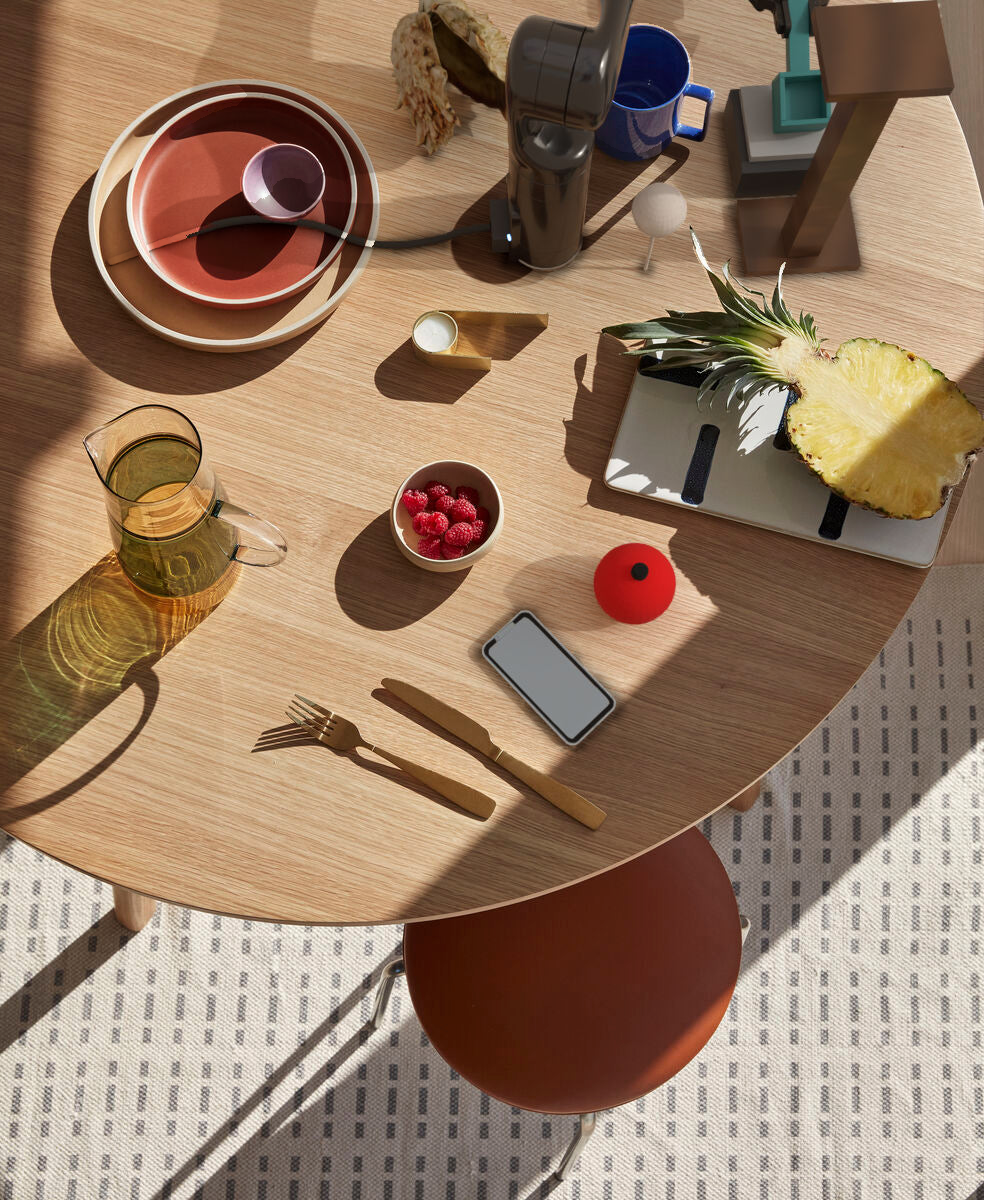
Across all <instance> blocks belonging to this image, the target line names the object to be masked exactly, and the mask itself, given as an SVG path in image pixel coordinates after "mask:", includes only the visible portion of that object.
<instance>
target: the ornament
mask: <svg viewBox="0 0 984 1200" xmlns="http://www.w3.org/2000/svg"><path fill="white" fill-rule="evenodd" d="M592 581H593V593H594V597H595V599H596V602H597V604H598V606H599V607H600V608H601V609H602V611H603V612H604V613H605V614H606V615H607V616H608V617H610V618H611V619H613V620H615V621H616V622H619V623H621V624H625V625H630V626H636V625H637V626H638V625H644V624H648V623H650V622H653V621H655V620H656V619H658V618H659V617H661V616H663V614H665V612H666V611H667V610H668V609H669V607H670V605H672V602H673V600H674V597H675V595H676V590H677V589H676V588H677V578H676V574H675V569H674V567H673V565H672V563H671V562H670V560H669V558H667V556H666V555H665V554H664V553H663V552H661V550H659V549H658V548H656V547H654V546H652V545H650V544H647V543H643V542H628V543H622V544H620V545H617V546H615V547H613V548H611V550H609V551H607V552H606V553H605V555H604V556H603V557H602V558H601V559H600V561H599V562H598V564H597V566H596V568H595V571H594V575H593V580H592Z"/></svg>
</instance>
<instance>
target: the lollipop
mask: <svg viewBox="0 0 984 1200" xmlns="http://www.w3.org/2000/svg"><path fill="white" fill-rule="evenodd" d="M687 213H688V205H687V200H686V198H685V197H684V196H683V194H682V193H681V191H680V190H679V189H678V188H677V187H676V186H674V185H672V184H670V183H667V182H653V183H651V184H648V185H647V186H645V187H644V188H642V189H641V190H640V191H639V192H637V194H636V195H635V197H634V199H633V201H632V203H631V215H632V218H633V221H634V224H635V225H636V227H637V229H638V230H639V231H640V232H641V233H642V234H644V235H646V236H647V237H650V239H649V244H648V248H647V252H646V256H645V261H644V264H643V271H647V270H648V268H649V264H650V260H651V255H652V251H653V247H654V243H655V239H662V238H666V237H669V236H671V235H673V234H675V232H677V230H679V228H680V227H681V226H682V225H683V224H684V222H685V221H686V218H687Z"/></svg>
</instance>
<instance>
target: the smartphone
mask: <svg viewBox="0 0 984 1200" xmlns="http://www.w3.org/2000/svg"><path fill="white" fill-rule="evenodd" d="M481 655H482V657H483V658H484V660H485V661H486V662H488V663H489V664H490V666H492V668H493V669H494V670H495V671H496V672H497V673H498V674H499V675H500V676H501V677H502V679H504V680H505V682H507V684H508V685H509V686H510V687H511V688H512V689H513V690H514V691H515V692H516V693H517V694H518V695H519V696H520V697H521V698H522V699H523V700H524V702H526V703H527V704H528V706H529V707H530V708H531V709H532V710H533V711H534V712H535V713H536V714H537V715H538V716H539V718H541V719H542V720H543V721H544V722H545V724H546V725H548V727H549V728H550V729H551V730H552V731H553V732H554V733H555V734H556V735H557V736H558V737H559V738H560V739H561V741H562V742H564V743H565V745H568V746H571V747H572V746H573V747H574V746H577V745H578V744H580V743H581V742H582V741H583V740H584V739H585V738H586V737H587V736H588V735H589V734H590V733H591V732H593V730H594V729H595V728H596V727H597V726H598V725H600V724H601V723H602V721H604V720H605V719H606V718H607V717H608V716H609V715H610V714H611V713H612V712H613V711H614V710H615V709H616V705H617V702H616V699H615V697H614V696H613V695H612V694H611V693H610V692H609V691H608V690H607V689H606V688H605V686H604V685H602V684H601V682H599V680H598V679H596V677H595V676H593V674H592V673H591V672H590V671H589V670H588V669H587V668H586V667H585V666H584V664H582V663H581V662H580V661H579V660H578V659H577V658H576V657H575V656H574V655H573V654H572V653H571V652H570V651H569V650H568V649H567V647H565V645H564V644H563V643H562V642H561V641H560V640H559V639H558V638H557V637H556V636H555V635H554V634H553V633H552V631H550V629H548V628H547V627H546V626H545V625H544V624H543V622H541V620H539V619H538V618H537V617H536V616H535V614H534V613H533V612H532V611H529V610H525V609H524V610H523V609H522V610H521V611H519V612H517V614H515V615H514V616H513V617H512V618H511V619H510V620H509V621H507V623H506V624H504V625H503V627H501V629H499V630H498V631H497V632H496V633H495V634H493V636H491V638H489V639H488V640H487V641H486V642H485V643H484V644H483V646H482V648H481Z"/></svg>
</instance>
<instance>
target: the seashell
mask: <svg viewBox="0 0 984 1200" xmlns="http://www.w3.org/2000/svg"><path fill="white" fill-rule="evenodd" d="M508 51H509V40H508V38H507V34H506V33H505V32H502V31H501V29H500V27H498V26H495V25H494V22H493V21H492V20H489V13H488V12H485V13H479V12H477V11H476V9H475V8H474V7H471V6H470V5H468V4H467V2H466V0H418V6H417V11H413V12H411V13H407V14H406V15H404V16H402V17H401V18H399V20H398V21H397V24H396V27H395V29H394V30H393V31H392V37H391V50H390V55H389V59H390V62H391V64H392V66H393V71H392V73H391V78H395V79H394V84H395V85H397V86H396V88H395V91H396V93H399V95H398V98H397V100H396V102H395V104H394V111H399V110H400V109H401V108H402V107H403V108H405V107H406V111H407V112H408V117H409V121H410V123H411V124H412V126H413V128H414V129H415V131H416V132H415V133H416V135H415V138H416V139H415V142H416V143H415V144H416V148H419V146H424V147H425V148H426V150H427V153H428V154H429V156H432V155H433V154H435V153H436V152H438V150H439V149H440V146H444V147H446V146H448V143H449V141H450V139H451V138H452V137H453V135H454V129H455V126H458V127H459V128H461V127H462V125H461V121H460V119H459V118H458V116H457V114H456V112H455V110H454V109H453V107H452V106H451V104H450V101H449V98H448V94H447V90H446V85H448V84H450V85H452V86H453V87H455V88H456V89H458V91H459V92H460V93H461V94H462V95H463V96H467V97H468V98H470V99H471V100H472V101H473V102H475V103H476V104H479V105H483V106H485V107H486V108H488V109H492V110H499V112H500V113H501V115H502V117H503V119H504V121H506V122H507V109H506V93H505V74H506V63H507V56H508Z"/></svg>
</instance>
